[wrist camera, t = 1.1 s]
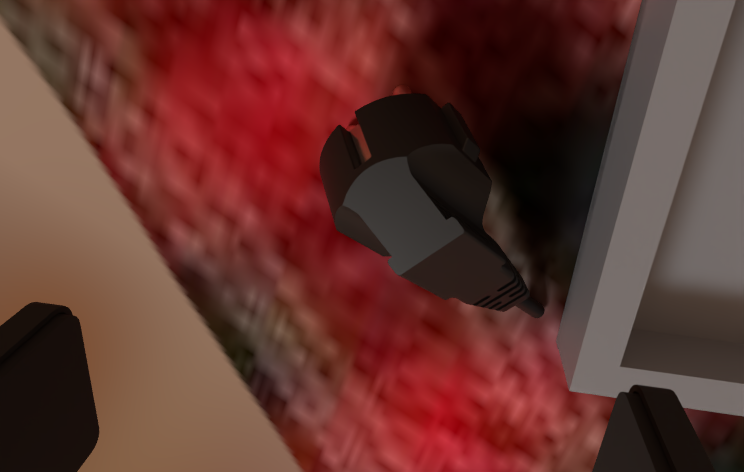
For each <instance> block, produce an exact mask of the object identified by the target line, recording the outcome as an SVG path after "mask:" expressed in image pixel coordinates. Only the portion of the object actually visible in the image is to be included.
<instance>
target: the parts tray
mask: <svg viewBox="0 0 744 472" xmlns="http://www.w3.org/2000/svg"><path fill="white" fill-rule="evenodd" d="M556 343H557V347H558V349H559V353H560V356H561V360H562V364H563V368H564V372H565V376H566V380H567V384H568V388H569V391H573V392H580V393H587V394H594V395H601V396H608V397H615V398H617V396H618V394H619V393H620V392H629V390H630V388H631V387H632V386H633V385H636V384H637V385H644V386H651V387H658V388H666V389H671V390H673V391H674V392H675V394H676V395H677V397H678V399H679V401H680V403H681V405H682V407H684V408H691V409H697V410H704V411H711V412H718V413H725V414H732V415H739V416H744V0H642V3H641V7H640V11H639V15H638V19H637V23H636V27H635V30H634V34H633V38H632V42H631V46H630V50H629V54H628V58H627V62H626V66H625V70H624V74H623V78H622V82H621V86H620V90H619V94H618V98H617V102H616V106H615V110H614V114H613V118H612V122H611V126H610V130H609V134H608V138H607V142H606V146H605V150H604V154H603V157H602V161H601V165H600V169H599V173H598V177H597V181H596V185H595V189H594V193H593V197H592V201H591V205H590V209H589V213H588V217H587V221H586V225H585V229H584V233H583V237H582V241H581V245H580V249H579V253H578V257H577V261H576V265H575V269H574V273H573V277H572V281H571V284H570V288H569V292H568V296H567V300H566V304H565V308H564V312H563V316H562V320H561V324H560V328H559V332H558V336H557V340H556Z"/></svg>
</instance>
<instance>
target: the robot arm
mask: <svg viewBox="0 0 744 472" xmlns="http://www.w3.org/2000/svg"><path fill="white" fill-rule="evenodd" d="M98 437H99V425H98V419H97V414H96V408H95V403H94V398H93V392H92V386H91V381H90V376H89V370H88V364H87V359H86V354H85V348H84V342H83V337H82V331H81V326H80V322H79V319H78V318H77V317H76V316H73V315H72V312H71V310H70V309H69V308H68V307H66V306H61V305H54V304H46V303H39V302H33V303H30V304H28V305H26V306H25V307H24V308H22V309H21V310H20V311H19V312H17V313H16V314H15V315H14V316H13V317H11V318H10V319H9V320H7V321H6V322H5V323H4V324H2V325H1V326H0V472H77V471H78V470H79V468H80V467H81V466H82V464H83V463H84V462H85V460H86V459H87V458H88V456H89V455H90V454H91V452H92V451H93V449H94V448H95V445H96V443H97V440H98ZM592 472H715V470H714V468H713V466H712V464H711V462H710V460H709V458H708V456H707V454H706V452H705V450H704V448H703V446H702V444H701V442H700V440H699V438H698V436H697V434H696V432H695V430H694V428H693V426H692V425H691V423H690V421H689V419H688V417H687V415H686V413H685V411H684V409H683V407H682V405H681V403H680V401H679V399H678V397H677V395H676V394H675V392H674V391H673V390H671V389H666V388H658V387H651V386H644V385H637V384H636V385H633V386H632V387H631V388H630V390H629V392H620V393H619V394H618V396H617V398H616V401H615V404H614V407H613V410H612V413H611V417H610V420H609V423H608V426H607V429H606V432H605V435H604V438H603V441H602V444H601V447H600V450H599V453H598V456H597V459H596V462H595V465H594V468H593V471H592Z"/></svg>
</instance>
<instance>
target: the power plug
mask: <svg viewBox="0 0 744 472" xmlns="http://www.w3.org/2000/svg"><path fill="white" fill-rule="evenodd" d="M355 114H356V117H357V120H358V122H359V124H358V125H350V126H348V127H347V128H346V129H345V128H343V127H342V126H341V125H338V126H337V127H336V128H335V130H334V131H333V132H332V133H331V135H330V136H329V138H328V139H327V141H326V143H325V145H324V147H323V150H322V153H321V157H320V174H321V178H322V182H323V185H324V189H325V192H326V195H327V199H328V202H329V206H330V209H331V212H332V216H333V219H334V223H335V226H336V229H337V230H338V231H339V232H341V233H343V234H345V235H346V236H348V237H350V238H352V239H354V240H355V241H357V242H359V243H361V244H362V245H364V246H366V247H368V248H370V249H371V250H373V251H375V252H377V253H378V254H380V255H382V256H392V258H390V259H389V260H388V264H389V265H390V267H391V268H392V269H393V270H394V272H395V273H396V274H397V275H399V276H401V277H403V278H405V279H407V280H409V281H411V282H413V283H415V284H416V285H418V286H420V287H422V288H424V289H426V290H428V291H430V292H432V293H434V294H435V295H437V296H439V297H440V298H442V299H444V300H447V299H449V298H457V299H459V300H460V301H462V302H464V303H466V304H469V305H474V306H480V307H483V308H489V309H493V310H497V311H502V312H504V311H507V310H508V309H510V308H512V307H513V306H517V307H518V308H520V309H521V310H523V311H525V312H526V313H528V314H529V315H531V316H532V317H534V318H539V317H541V316H542V315H543V313H544V307H543V306H542V305H541V304H540V303H538V302H537V301H535V300H534V299H533V298H531V297H530V296H529V295H530V293H529V290H528V288H527V286H526V284H525V282H524V280H523V278H522V277H521V275H520V274H519V272H518V271H517V270H516V268H515V267H514V266H513V264H512V263H511V261H510V260H509V259H508V258H507V256H506V255H505V253H504V252H503V251H502V249H501V248H500V246H499V245H498V244H497V243H496V242H495V241H494V240H493V239H492V238H491V237H490V236H489V235H488V234H487V233H486V232H485V231H484V229H483V225H482V219H483V214H484V211H485V207H486V204H487V201H488V198H489V194H490V190H491V185H492V181H491V179H490V177H489V176H488V174H487V172H486V170H485V168H484V166H483V164H482V163H481V161H480V159H479V157H478V155H479V152H480V149H479V147H478V145H477V143H476V141H475V139H474V138H473V136H472V134H471V132H470V130H469V128H468V127H467V125H466V123H465V121H464V119H463V117H462V116H461V114H460V113H459V112H458V111H457V110H456V109H455V108H454V107H453V106H452V105H451V104H450V103H447V104H446V105H445V106H443V107H442V108H440V107H439V106H438V105H437V104H436V103H435V102H434V101H433V100H432V99H431V98H430V97H429V96H428V95H426V94H414V93H412V91H411V90H410V88H409V87H408V86H406V85H398V86H397V87H395V89H394V90H393V93H392V96H389V97H385V98H382V99H379V100H376V101H374V102H371V103H369V104H367V105H365V106H363V107H362V108H360V109H358V110H356V111H355Z"/></svg>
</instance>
